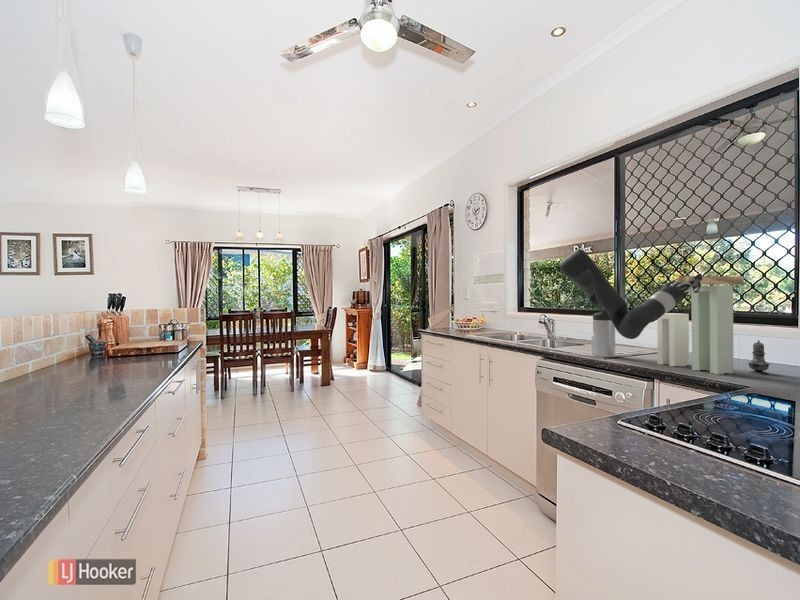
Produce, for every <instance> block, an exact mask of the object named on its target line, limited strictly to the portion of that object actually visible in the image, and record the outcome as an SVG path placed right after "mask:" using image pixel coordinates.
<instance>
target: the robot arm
mask: <svg viewBox="0 0 800 600" xmlns="http://www.w3.org/2000/svg"><path fill="white" fill-rule="evenodd" d="M559 268H560V271H561V272H562V274H564V275H565V277H567V278H568V279H569V280H571V282H573V283H574V284H575V285H576V286H577V288H578V289H579V290H580V291H582V293H583V294H585V296H586V298H587V300H588V301H589V303H590V304H591V305H593V306H599V307H600V306H601V308H602V309H603V310H601V311H599V312H596V313H593V314H592V335H591V355H592V356H594V357H599V358H615V357H616V331H617V333H619V334H620V336H622V337H623V338H625V339H627V340H635V339H637V338H638V337H639V336H640V335H641V333H642V332H643V331H644V330H645V328H646V327H647V326H648V325H650V323H654V322H657V319H659V318H660V317H661V316H662V315H664V314H665V313H670V311H671V310H673V309H674V308H675V307H676V306H677V305H679V304H680V303H681V302H682V301H683V299H684V297H685V296H686V295H688V294H689V293H691V292H692V291H693V292H694V293H698V292H699V290H700V288H701V286H702V285H701V283H700V281H701V280H702V279H703V278H702V276H703V275H702V274H700V273H697V274H696V275H694V276H695V277H694V278H692V279H691V280H689V281H685V282H683V283H682V284H679V279H677V280H675V279H674V280H671V281H669V282H667V283H665V284H663V285H660V286H659V289H658V290H657V291H656V292H654V293H653V294H652V295H650V297H648V298H647V300H645V301H644V302H643V303H641V304H640V305H638V306H636V307H634V308H633V309H631V310H629V311H628V303H627V302H626V301H625V299H624V298H623V297H622V296H621V295H620V294H619V293H618V292H617V291H616V289H615V287H614V286H612V285H611V284H610V282H609V281H608V279H607V278H606V276H605V275H604V273H603V272H602V271H601V270H600V268H599V267H598V265H597V263H595V261H594V260H593V259H592V258H591V257H590V255H589V254H588V253H587V252H586V251H584V250H583V249H581V248H576V249H575V250H573V251H572V252H571V253H570V254H569V255H568V256H566V257H565V258H563V259H562V260H561V261H560V262H559ZM685 276H691V275H690V274H686V275H685ZM691 282H692V284H693V285H691Z"/></svg>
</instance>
